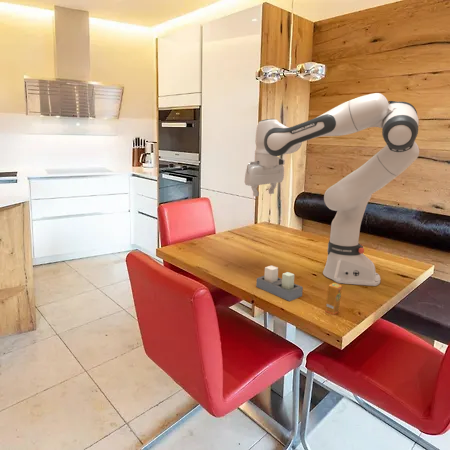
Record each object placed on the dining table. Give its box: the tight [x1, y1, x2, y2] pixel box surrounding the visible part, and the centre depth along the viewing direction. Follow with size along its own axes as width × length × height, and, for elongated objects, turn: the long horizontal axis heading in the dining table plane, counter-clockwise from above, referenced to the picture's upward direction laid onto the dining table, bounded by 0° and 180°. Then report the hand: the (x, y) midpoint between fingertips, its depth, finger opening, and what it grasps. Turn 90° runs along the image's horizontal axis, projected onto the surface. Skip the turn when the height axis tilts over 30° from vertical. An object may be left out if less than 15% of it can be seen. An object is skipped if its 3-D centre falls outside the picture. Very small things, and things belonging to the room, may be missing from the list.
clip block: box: [263, 265, 279, 283], centre depth 141 cm, size 4×4×8 cm
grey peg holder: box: [255, 274, 304, 302], centre depth 139 cm, size 16×7×4 cm, turn 41°
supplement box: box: [324, 282, 343, 316], centre depth 123 cm, size 3×3×10 cm
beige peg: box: [281, 271, 295, 290], centre depth 135 cm, size 3×3×8 cm
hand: (263, 194), depth 155 cm, fingers open, 8 cm apart
